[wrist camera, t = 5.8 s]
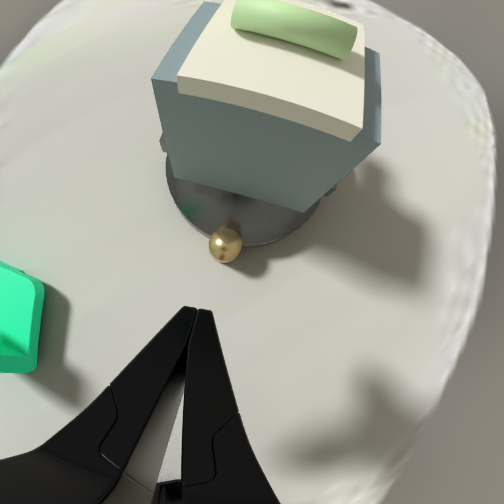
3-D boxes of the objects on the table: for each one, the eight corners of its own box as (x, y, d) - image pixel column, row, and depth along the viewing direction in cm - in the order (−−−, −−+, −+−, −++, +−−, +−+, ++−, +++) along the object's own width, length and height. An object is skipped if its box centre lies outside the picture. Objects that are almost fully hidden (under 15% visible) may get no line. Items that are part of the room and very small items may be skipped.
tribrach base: (303, 283, 23) (320, 283, 19) (137, 240, 21) (123, 232, 18) (332, 135, 24) (349, 115, 21) (190, 95, 23) (188, 69, 19)
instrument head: (310, 223, 20) (435, 130, 7) (162, 183, 19) (115, 37, 6) (329, 111, 22) (405, -2, 9) (207, 77, 21) (217, -59, 8)
